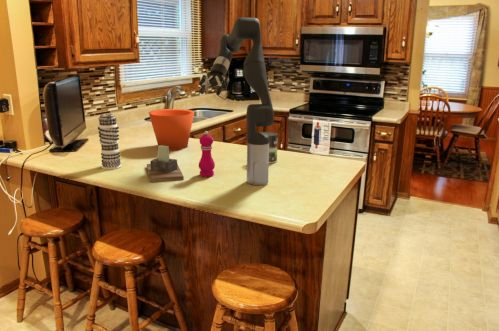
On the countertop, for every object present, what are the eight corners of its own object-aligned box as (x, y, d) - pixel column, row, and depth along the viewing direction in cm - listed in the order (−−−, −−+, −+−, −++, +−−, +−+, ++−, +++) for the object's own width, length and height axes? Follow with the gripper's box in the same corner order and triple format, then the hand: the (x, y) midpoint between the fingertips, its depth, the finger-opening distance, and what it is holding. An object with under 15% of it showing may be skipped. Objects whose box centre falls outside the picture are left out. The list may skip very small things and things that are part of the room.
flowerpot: (176, 154, 223) (174, 117, 218) (141, 148, 235) (138, 113, 230) (203, 145, 244) (203, 111, 239) (170, 140, 256) (169, 107, 251)
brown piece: (176, 164, 204) (176, 152, 202) (183, 179, 182) (183, 166, 180) (146, 166, 200) (146, 154, 198) (150, 182, 178) (149, 168, 176)
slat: (169, 169, 191) (168, 146, 188) (167, 170, 189) (166, 147, 186) (161, 168, 192) (160, 145, 189) (158, 169, 190) (157, 146, 187)
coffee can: (278, 159, 217) (279, 132, 213) (275, 164, 207) (276, 136, 203) (258, 157, 219) (259, 131, 215) (254, 163, 209) (255, 135, 205)
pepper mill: (200, 172, 192) (199, 129, 187) (215, 172, 192) (215, 129, 186) (197, 177, 185) (196, 132, 180) (214, 177, 185) (213, 133, 180)
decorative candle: (113, 170, 193) (109, 116, 187) (97, 168, 197) (92, 115, 190) (125, 165, 202) (122, 113, 195) (109, 163, 205) (105, 112, 198)
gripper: (204, 62, 208) (193, 87, 201) (230, 63, 202) (220, 89, 195) (210, 72, 214) (199, 97, 207) (235, 73, 209) (225, 99, 202)
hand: (209, 93), depth 201 cm, fingers open, 8 cm apart
